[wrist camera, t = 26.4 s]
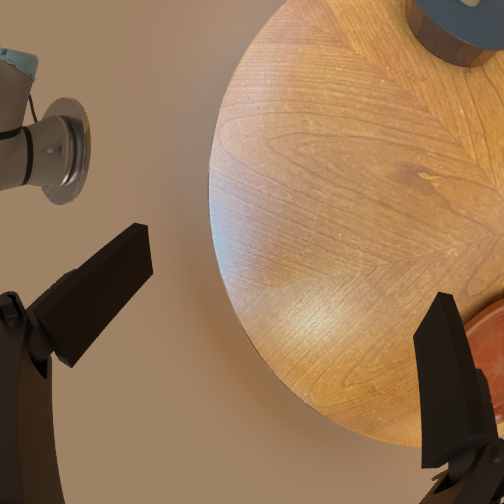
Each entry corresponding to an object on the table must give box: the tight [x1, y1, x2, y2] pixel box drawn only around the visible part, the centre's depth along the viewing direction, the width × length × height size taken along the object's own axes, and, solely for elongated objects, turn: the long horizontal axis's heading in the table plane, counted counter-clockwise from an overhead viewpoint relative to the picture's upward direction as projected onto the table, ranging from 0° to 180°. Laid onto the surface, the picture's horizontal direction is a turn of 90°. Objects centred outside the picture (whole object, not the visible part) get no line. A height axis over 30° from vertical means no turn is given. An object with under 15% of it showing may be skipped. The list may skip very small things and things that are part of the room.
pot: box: [406, 0, 497, 67], centre depth 16 cm, size 11×11×7 cm
